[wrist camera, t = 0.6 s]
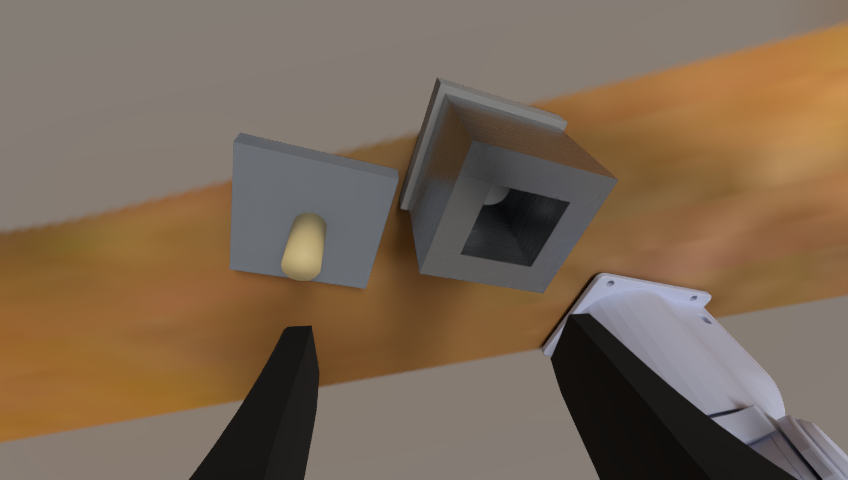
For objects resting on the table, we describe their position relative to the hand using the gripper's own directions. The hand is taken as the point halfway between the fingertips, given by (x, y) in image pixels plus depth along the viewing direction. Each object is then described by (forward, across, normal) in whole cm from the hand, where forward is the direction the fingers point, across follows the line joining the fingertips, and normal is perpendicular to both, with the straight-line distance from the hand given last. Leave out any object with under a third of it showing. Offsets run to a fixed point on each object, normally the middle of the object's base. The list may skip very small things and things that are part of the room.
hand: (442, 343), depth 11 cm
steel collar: (+9, -3, -1) cm, 9 cm away
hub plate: (+10, +5, +2) cm, 11 cm away
